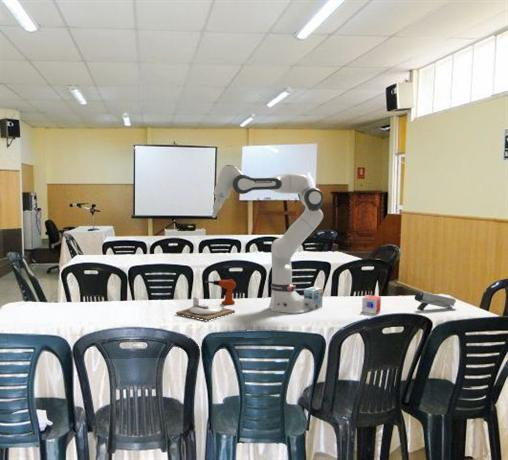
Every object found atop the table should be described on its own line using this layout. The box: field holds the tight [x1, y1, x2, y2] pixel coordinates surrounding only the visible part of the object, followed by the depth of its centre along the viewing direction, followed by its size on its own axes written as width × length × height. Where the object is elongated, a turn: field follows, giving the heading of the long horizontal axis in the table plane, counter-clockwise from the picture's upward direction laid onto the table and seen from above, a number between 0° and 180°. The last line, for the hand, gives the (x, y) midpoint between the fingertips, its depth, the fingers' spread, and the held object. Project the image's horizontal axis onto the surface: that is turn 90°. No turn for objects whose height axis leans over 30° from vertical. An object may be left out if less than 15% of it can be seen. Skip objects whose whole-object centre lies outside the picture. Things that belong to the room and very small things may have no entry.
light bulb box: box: [303, 286, 324, 310], centre depth 272 cm, size 11×7×11 cm, turn 143°
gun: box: [414, 291, 457, 311], centre depth 271 cm, size 2×25×10 cm, turn 101°
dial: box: [189, 296, 223, 315], centre depth 255 cm, size 17×17×6 cm
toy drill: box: [204, 278, 237, 306], centre depth 277 cm, size 5×19×15 cm, turn 100°
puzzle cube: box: [361, 294, 382, 314], centre depth 265 cm, size 8×8×8 cm
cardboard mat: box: [175, 304, 236, 322], centre depth 255 cm, size 22×22×2 cm
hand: (213, 217), depth 262 cm, fingers open, 8 cm apart
